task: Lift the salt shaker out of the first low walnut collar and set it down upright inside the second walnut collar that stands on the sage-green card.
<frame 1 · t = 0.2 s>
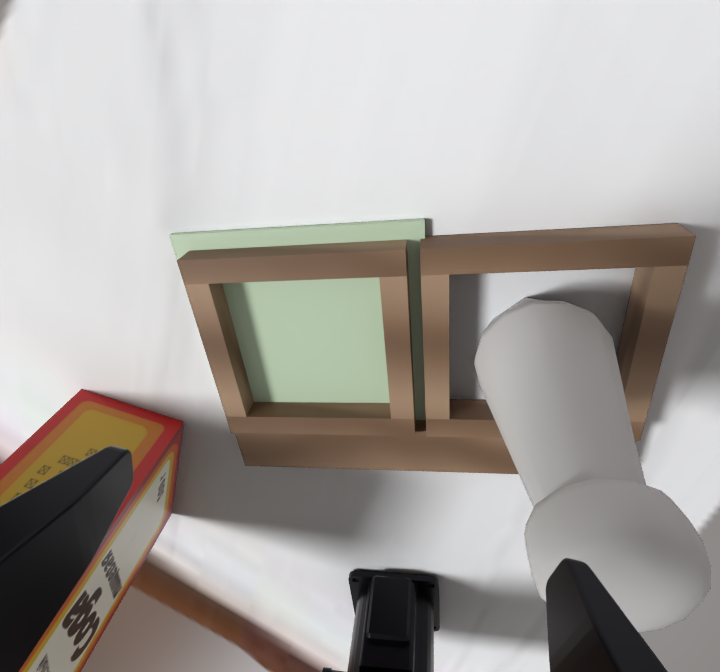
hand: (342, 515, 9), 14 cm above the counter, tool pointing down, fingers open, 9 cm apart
baking soda box: (132, 454, 31), on the counter
target card: (312, 338, 24), resting in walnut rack
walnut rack: (418, 336, 23), on the counter
salt shaker: (531, 332, 23), resting in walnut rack
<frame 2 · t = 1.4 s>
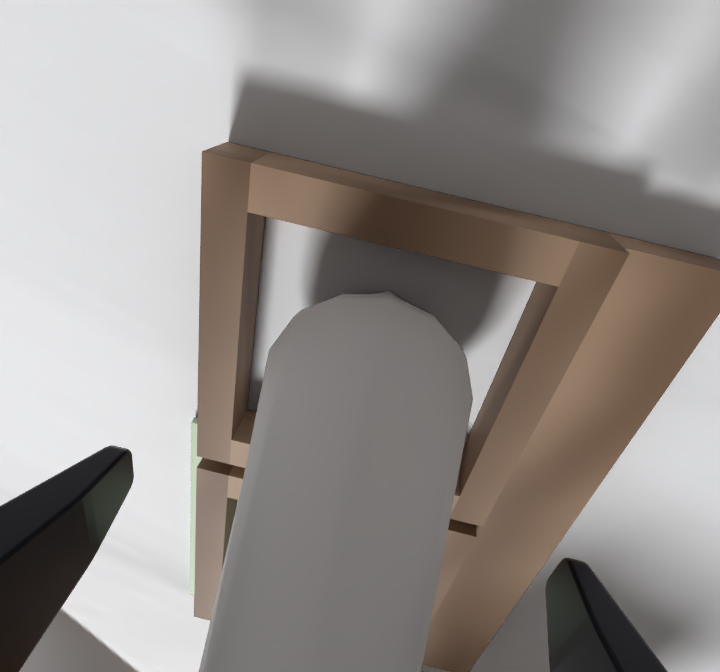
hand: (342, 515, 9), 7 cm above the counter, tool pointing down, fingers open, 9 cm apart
target card: (322, 548, 21), resting in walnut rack
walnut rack: (344, 463, 18), on the counter
salt shaker: (375, 343, 15), resting in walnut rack
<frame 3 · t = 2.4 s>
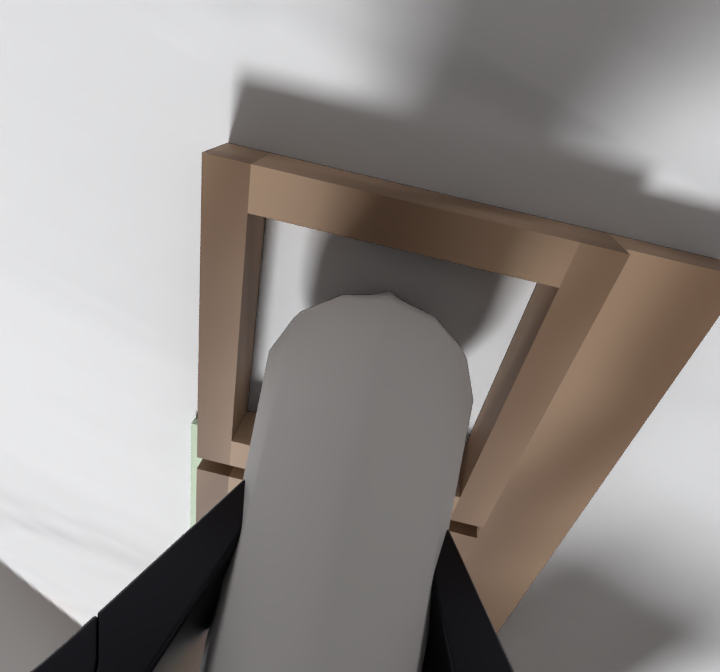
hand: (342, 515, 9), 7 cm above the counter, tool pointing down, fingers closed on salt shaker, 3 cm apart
target card: (323, 549, 21), resting in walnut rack
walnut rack: (345, 464, 18), on the counter
salt shaker: (376, 344, 15), resting in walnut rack, touching gripper
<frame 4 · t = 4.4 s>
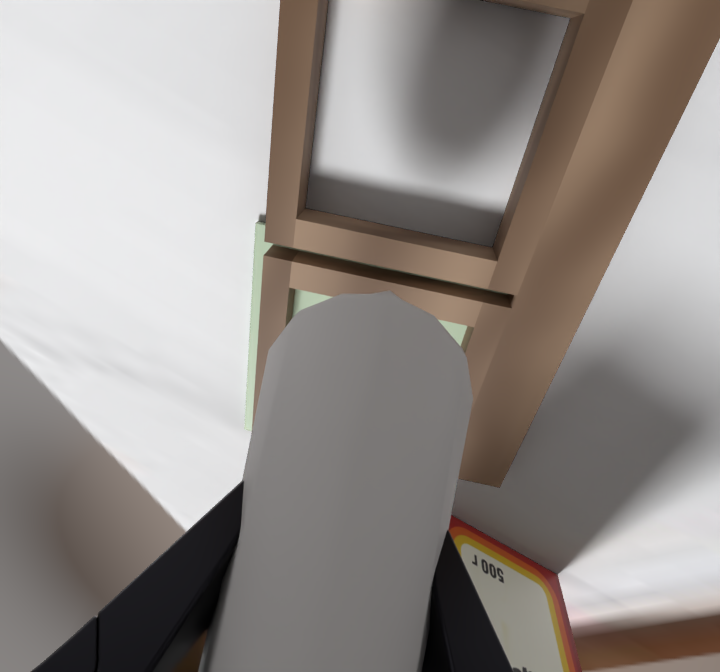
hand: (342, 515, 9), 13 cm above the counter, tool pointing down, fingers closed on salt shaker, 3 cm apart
baking soda box: (464, 562, 30), on the counter
target card: (368, 362, 23), resting in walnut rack
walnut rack: (391, 260, 20), on the counter
salt shaker: (375, 343, 15), point 6 cm above the counter, touching gripper
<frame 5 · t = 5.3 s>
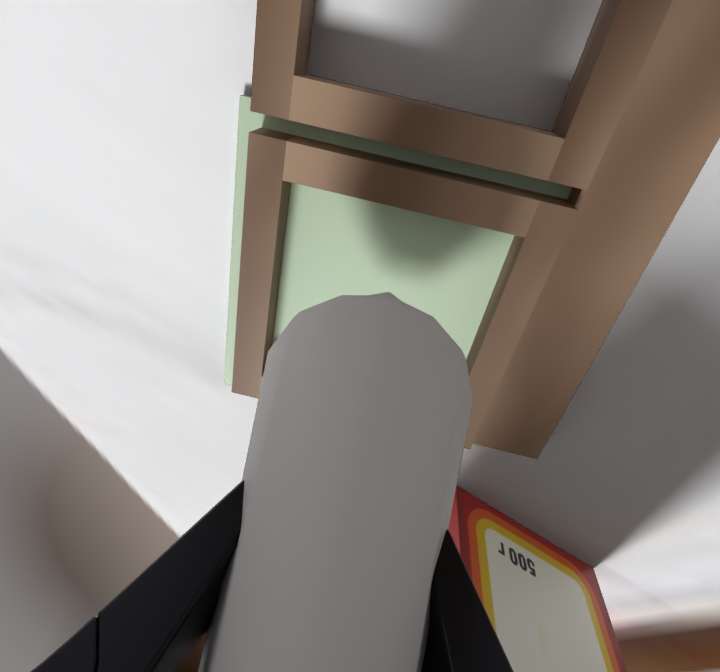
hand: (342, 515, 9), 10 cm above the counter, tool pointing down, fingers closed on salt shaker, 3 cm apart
baking soda box: (483, 553, 26), on the counter
target card: (380, 296, 18), resting in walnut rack
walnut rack: (416, 152, 15), on the counter
salt shaker: (375, 344, 15), point 4 cm above the counter, touching gripper
when the fingers open (8 cm above the counter, at t = 6.3 s): salt shaker drops 1 cm, resting on target card.
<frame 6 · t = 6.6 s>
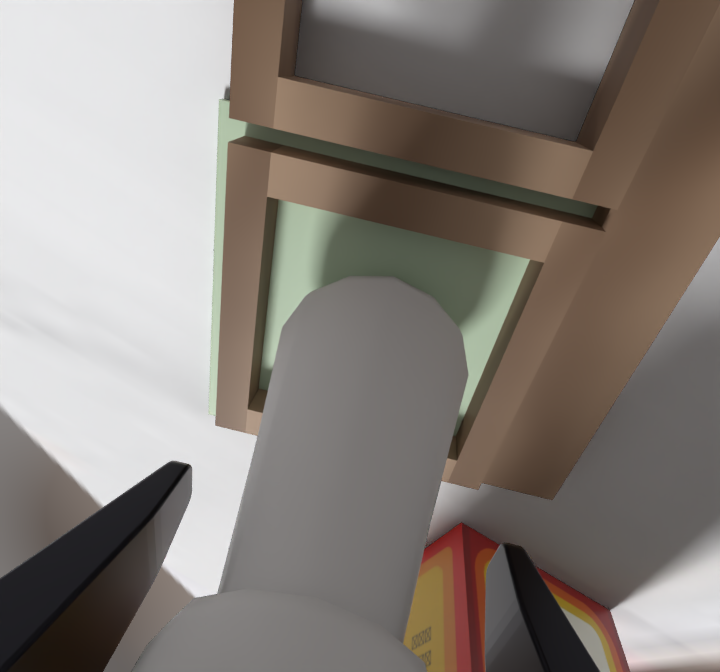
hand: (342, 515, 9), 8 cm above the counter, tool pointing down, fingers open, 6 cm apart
baking soda box: (490, 592, 24), on the counter
target card: (379, 323, 16), resting in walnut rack
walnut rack: (420, 164, 14), on the counter
salt shaker: (380, 328, 16), resting on target card
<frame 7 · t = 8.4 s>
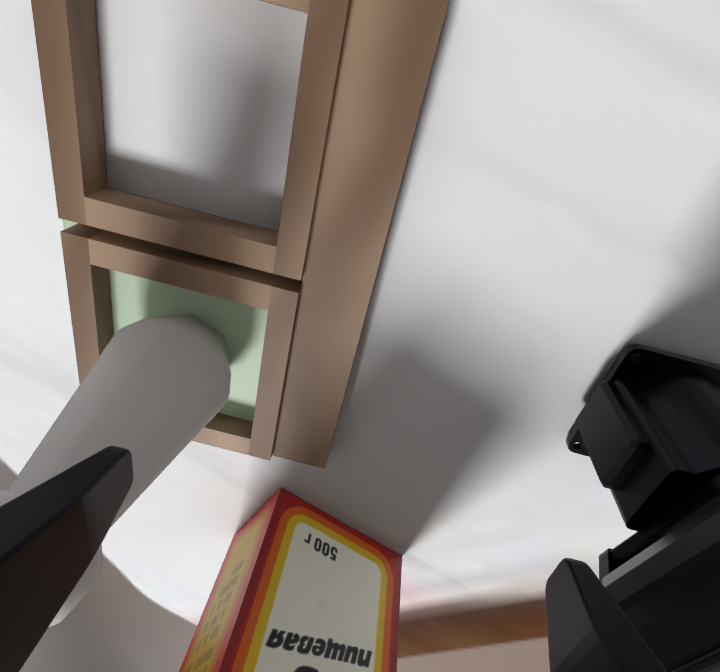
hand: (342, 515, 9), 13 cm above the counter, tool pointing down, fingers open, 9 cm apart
baking soda box: (317, 543, 31), on the counter
target card: (192, 342, 24), resting in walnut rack
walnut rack: (196, 243, 21), on the counter
salt shaker: (192, 346, 24), resting on target card
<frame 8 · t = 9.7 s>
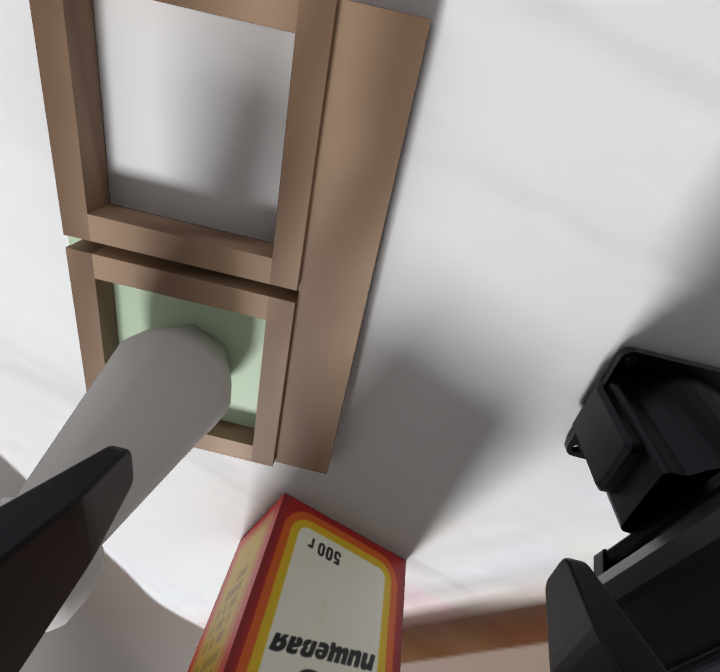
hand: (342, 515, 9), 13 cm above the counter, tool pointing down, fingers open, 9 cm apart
baking soda box: (321, 547, 32), on the counter
target card: (194, 352, 24), resting in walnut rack
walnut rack: (195, 255, 21), on the counter
salt shaker: (195, 355, 24), resting on target card
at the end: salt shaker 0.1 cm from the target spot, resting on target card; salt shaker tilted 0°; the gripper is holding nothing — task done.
